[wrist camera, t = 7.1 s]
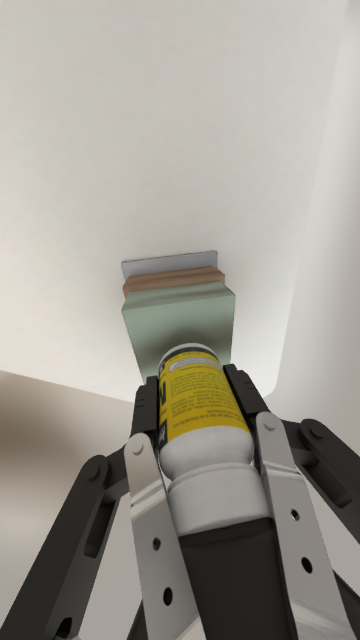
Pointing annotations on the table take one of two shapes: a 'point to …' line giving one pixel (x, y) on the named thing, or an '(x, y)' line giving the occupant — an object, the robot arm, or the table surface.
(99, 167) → the table surface
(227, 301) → the brick tower
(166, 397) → the supplement bottle
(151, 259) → the baseplate
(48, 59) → the table surface
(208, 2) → the table surface
